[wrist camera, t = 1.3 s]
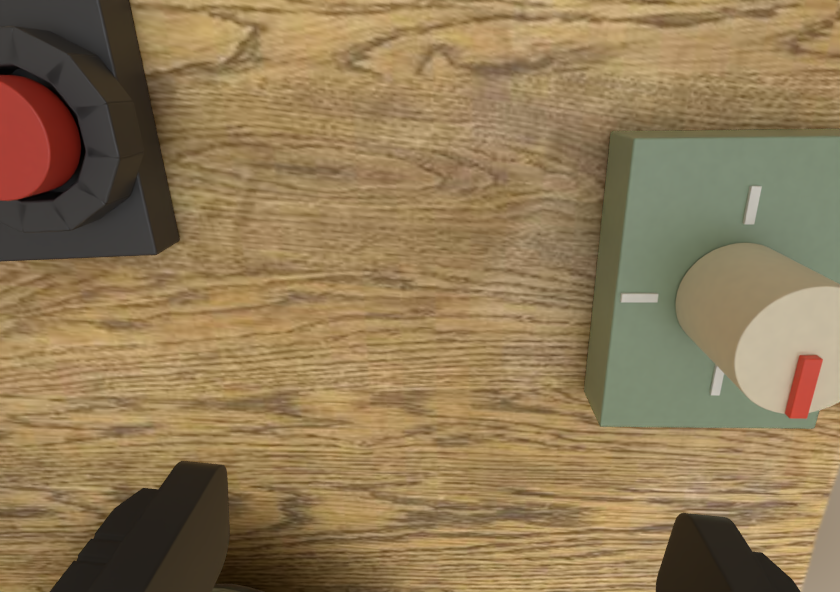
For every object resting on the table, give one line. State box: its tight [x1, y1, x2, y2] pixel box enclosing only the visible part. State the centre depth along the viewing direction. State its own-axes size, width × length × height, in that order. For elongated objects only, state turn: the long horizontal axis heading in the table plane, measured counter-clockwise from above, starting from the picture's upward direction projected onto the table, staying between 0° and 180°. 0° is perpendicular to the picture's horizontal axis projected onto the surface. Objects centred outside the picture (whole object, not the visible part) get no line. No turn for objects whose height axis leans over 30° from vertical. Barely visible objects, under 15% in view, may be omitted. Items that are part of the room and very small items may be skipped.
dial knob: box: [675, 243, 840, 419], centre depth 19 cm, size 4×4×5 cm
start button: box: [0, 75, 81, 201], centre depth 19 cm, size 4×4×2 cm
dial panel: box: [584, 129, 840, 429], centre depth 23 cm, size 12×9×3 cm
